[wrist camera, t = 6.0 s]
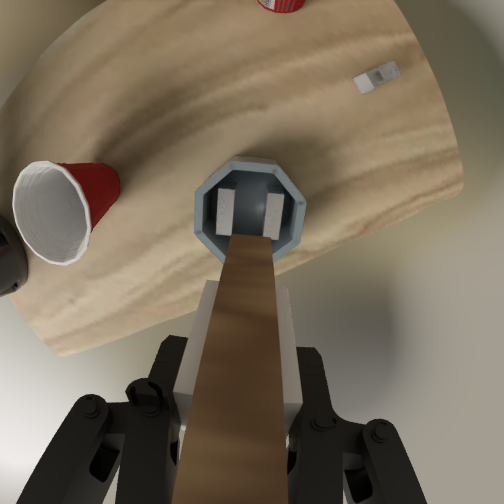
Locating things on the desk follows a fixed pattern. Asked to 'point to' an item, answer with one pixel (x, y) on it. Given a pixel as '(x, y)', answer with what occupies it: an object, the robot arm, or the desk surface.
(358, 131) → the desk surface
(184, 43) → the desk surface
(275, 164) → the grey faceted bowl
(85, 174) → the plastic cup
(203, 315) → the robot arm
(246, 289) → the brown wooden block
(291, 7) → the soda can
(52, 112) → the desk surface
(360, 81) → the lighter
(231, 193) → the clip
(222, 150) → the desk surface
